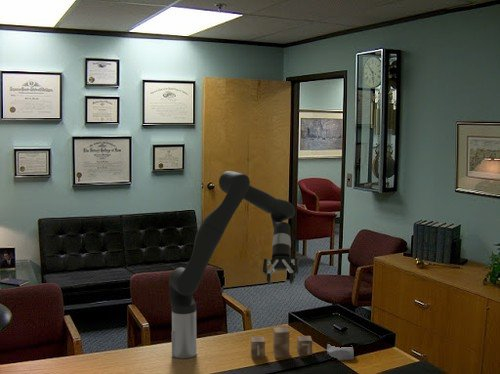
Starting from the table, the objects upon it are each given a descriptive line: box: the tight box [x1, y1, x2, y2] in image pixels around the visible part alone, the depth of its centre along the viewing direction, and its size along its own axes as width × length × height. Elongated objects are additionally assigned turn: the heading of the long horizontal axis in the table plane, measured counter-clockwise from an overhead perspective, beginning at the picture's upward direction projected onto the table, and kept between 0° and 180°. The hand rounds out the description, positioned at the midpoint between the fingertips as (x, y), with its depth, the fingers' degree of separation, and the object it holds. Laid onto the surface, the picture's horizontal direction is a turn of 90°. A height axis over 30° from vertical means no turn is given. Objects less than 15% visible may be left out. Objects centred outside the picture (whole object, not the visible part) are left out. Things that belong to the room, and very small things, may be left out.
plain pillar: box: [272, 326, 291, 359], centre depth 220 cm, size 6×6×10 cm
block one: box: [250, 336, 266, 359], centre depth 219 cm, size 5×5×6 cm
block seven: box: [296, 335, 313, 357], centre depth 220 cm, size 5×5×6 cm
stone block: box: [326, 343, 355, 361], centre depth 222 cm, size 12×5×10 cm
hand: (280, 283), depth 228 cm, fingers open, 8 cm apart
